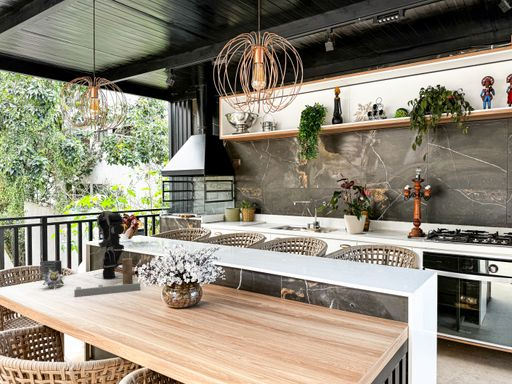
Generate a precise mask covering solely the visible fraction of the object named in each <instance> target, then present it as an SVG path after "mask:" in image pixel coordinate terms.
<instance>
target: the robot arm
mask: <svg viewBox="0 0 512 384" xmlns="http://www.w3.org/2000/svg"><path fill="white" fill-rule="evenodd" d="M123 224H124V220H123V217H122V215H121V214H120V213H114V212H112V211H111V210H103V211H101V214H99V215H98V216H97V218H96V225H97V227H98V230H100V232H101V236H102V240H101V241H100V242H98V247H99V248H100V249H104V254H103V256H102V260H101V263H100V267H101V269H103V270H102V278H103V280H105V279H106V280H108V279H115V278H116V270H115V269H116V268H118V264H119V263H118V262H119V259H120V258H121V255H122V253H123V251H124V250H125V246H124V244H121V243H120V239H122V238H121V235H122V234H123V233H124V231H125V228H124V226H123Z"/></svg>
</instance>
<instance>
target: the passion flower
mask: <svg viewBox="0 0 512 384" xmlns="http://www.w3.org/2000/svg"><path fill="white" fill-rule="evenodd" d="M44 276H45V277H44ZM41 277H42V279H41V280H42V281H44V282H43V283H42V285H43V286H49V287H48V288H49V289H51V288H52V289H54V288H55V289H56V288H57V285H59V286H63V285H64V281H63V280H65V277H63V273H62V274H61V275H59V273H58V271H56V272H53V271H51V270H49V272H48V273H47V274H46V275H45V274H43V276H41V275H40V278H41ZM43 277H44V278H43Z"/></svg>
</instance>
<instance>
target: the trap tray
mask: <svg viewBox="0 0 512 384" xmlns="http://www.w3.org/2000/svg"><path fill="white" fill-rule="evenodd" d="M138 281H139V280H138ZM138 281H135V280H134V281H133V284H125V285H123V282H118V283H117V282H116V284H115V285H108V286H107V285H105V286H103V284H98V286H97V287H86V288H85V287H84V288H81V286H77V287H76V288H75V289H74V292H73V293H74V295H73V296H74V297H75V298H77V297H88V296H96V295H97V296H98V295H105V294H114V293H115V294H118V293H124V292H134V291H141V283H140V282H139V283H138Z"/></svg>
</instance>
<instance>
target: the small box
mask: <svg viewBox="0 0 512 384" xmlns="http://www.w3.org/2000/svg"><path fill="white" fill-rule="evenodd" d="M39 263H40V280H43V279H42V277H41V276H43V274H45V275H46V274H47V273H48V272H49V270H51V271H53V272H56V271H58V273H59V275H61V274H62V275H63V270H62V269H63V268H62V266H63V265H62V260H44V261H41V262H39ZM44 277H45V276H44ZM44 277H43V278H44Z"/></svg>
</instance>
